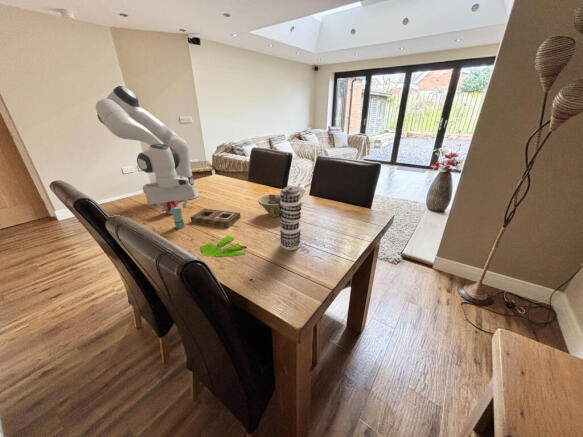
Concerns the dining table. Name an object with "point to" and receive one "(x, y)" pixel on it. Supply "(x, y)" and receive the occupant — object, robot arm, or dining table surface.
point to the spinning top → (300, 189)
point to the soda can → (170, 206)
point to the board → (215, 217)
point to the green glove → (217, 252)
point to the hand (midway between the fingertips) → (174, 209)
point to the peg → (178, 217)
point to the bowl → (271, 204)
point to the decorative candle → (290, 218)
